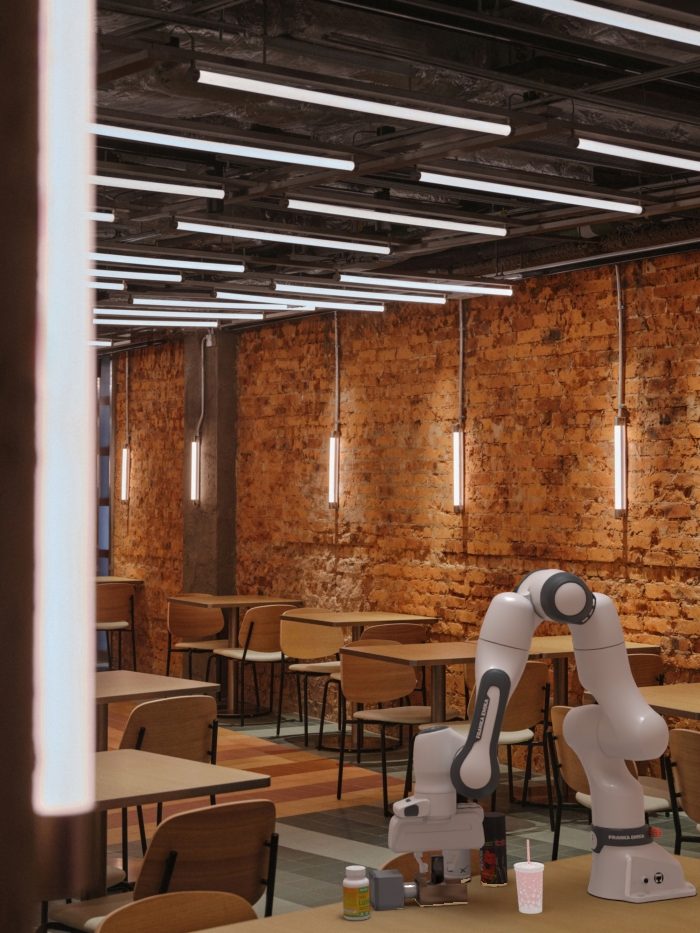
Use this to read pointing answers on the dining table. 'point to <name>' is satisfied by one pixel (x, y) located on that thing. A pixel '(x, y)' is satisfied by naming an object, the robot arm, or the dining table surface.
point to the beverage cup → (529, 885)
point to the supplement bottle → (356, 894)
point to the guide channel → (440, 891)
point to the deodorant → (494, 849)
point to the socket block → (386, 889)
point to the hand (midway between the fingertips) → (437, 872)
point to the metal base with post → (436, 879)
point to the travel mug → (463, 860)
